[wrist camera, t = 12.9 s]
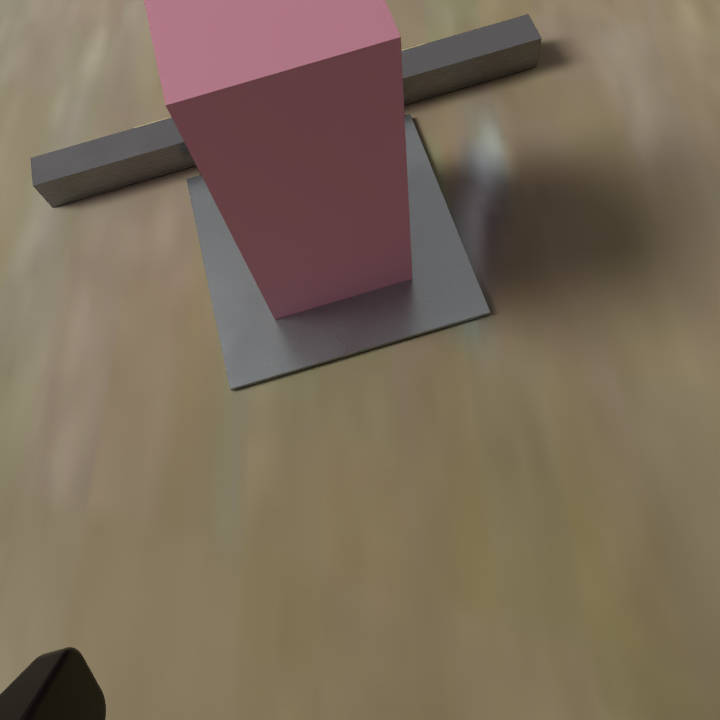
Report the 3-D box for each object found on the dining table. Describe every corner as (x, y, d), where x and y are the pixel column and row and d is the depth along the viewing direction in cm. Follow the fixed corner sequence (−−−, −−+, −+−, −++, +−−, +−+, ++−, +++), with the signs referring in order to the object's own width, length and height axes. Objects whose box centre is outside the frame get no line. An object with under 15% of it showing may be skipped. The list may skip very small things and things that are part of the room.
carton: (412, 278, 25) (400, 36, 14) (274, 319, 25) (165, 105, 14) (370, 163, 27) (335, -116, 17) (244, 200, 27) (132, -58, 17)
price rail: (521, 40, 29) (526, 11, 27) (643, 268, 24) (656, 247, 23) (49, 177, 29) (30, 154, 27) (75, 436, 24) (53, 425, 22)
